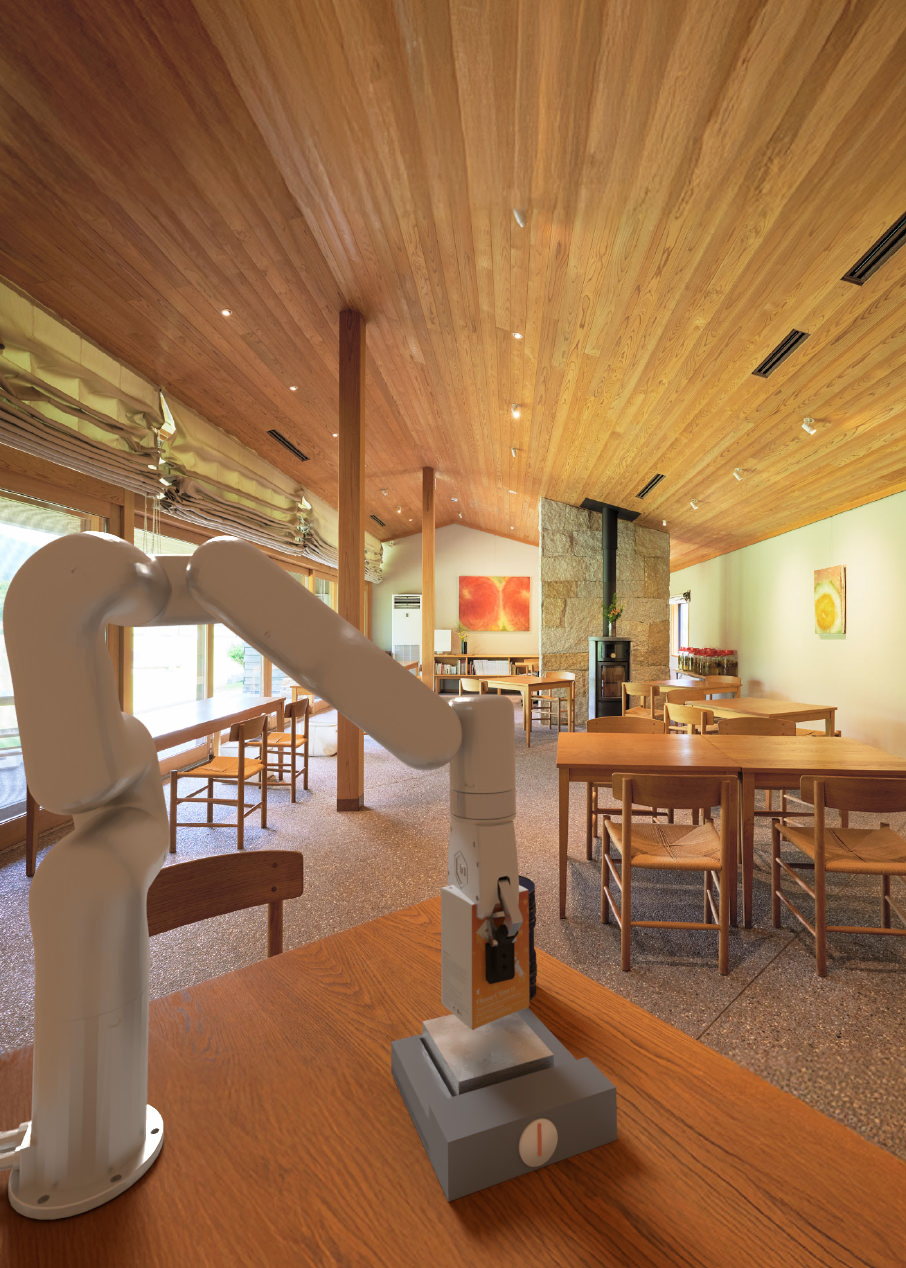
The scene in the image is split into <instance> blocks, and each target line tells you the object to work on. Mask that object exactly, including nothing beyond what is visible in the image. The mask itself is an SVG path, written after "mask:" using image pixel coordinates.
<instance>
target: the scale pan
mask: <svg viewBox="0 0 906 1268" xmlns="http://www.w3.org/2000/svg"><path fill="white" fill-rule="evenodd" d="M422 1034H423V1046H424V1048H425V1049H426V1051H427V1053H428V1055H429V1056H430V1058H431V1060H432V1062H433V1064H434V1065H435V1067H436V1069H437V1071H438V1073H439V1074H440V1076H441V1078H442V1080H443V1082H444V1083H445V1085H446V1087H447V1089H448V1091H449V1092H450V1094H451V1096H452V1097H454V1096H457V1095H461V1094H464V1093H467V1092H471V1091H474V1090H477V1089H481V1088H484V1087H488V1086H491V1085H494V1084H498V1083H501V1082H504V1081H508V1080H511V1079H514V1078H518V1077H521V1076H524V1075H528V1074H531V1073H535V1072H538V1071H541V1070H545V1069H548V1068H551V1067H554V1054H553V1053H552V1052H551V1051H550V1050H549V1049H548V1047H547V1046H546V1045H545V1044H544V1043H543V1042H542V1041H541V1039H540V1038H539V1037H538V1036H537V1035H536V1034H535V1033H534V1032H533V1030H532V1029H531V1028H530V1027H529V1026H528V1025H527V1024H526V1022H525V1021H524V1020H523V1019H522V1018H521V1017H520V1016H519V1015H518V1013H517V1012H514V1013H512V1014H509V1015H507V1016H504V1017H502V1018H499V1019H497V1020H495V1021H492V1022H490V1023H487V1024H485V1025H483V1026H480V1027H478V1028H476V1029H474V1030H471V1029H470V1028H469V1027H468V1026H467V1025H465V1024H464V1023H463V1022H462V1021H461V1020H460V1019H458V1018H457V1017H456V1016H455V1015H454V1014H453V1013H452V1014H448V1015H443V1016H440V1017H436V1018H431V1019H427V1020H423V1021H422Z"/></svg>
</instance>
